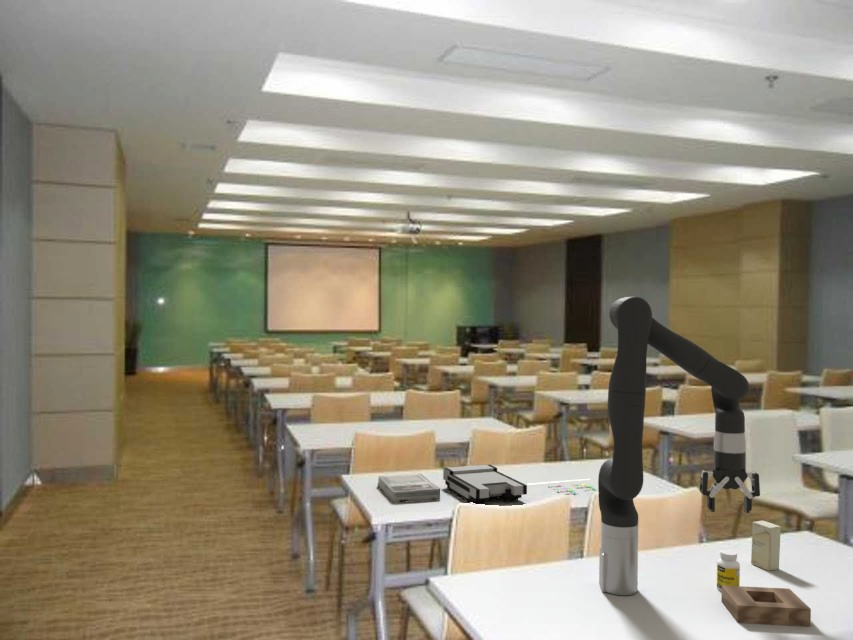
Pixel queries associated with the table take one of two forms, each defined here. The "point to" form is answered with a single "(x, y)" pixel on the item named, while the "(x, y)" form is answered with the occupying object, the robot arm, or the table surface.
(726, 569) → the supplement bottle
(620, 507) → the robot arm
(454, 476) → the game console
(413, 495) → the hard drive
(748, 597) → the walnut socket board
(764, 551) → the skincare box
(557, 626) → the table surface
